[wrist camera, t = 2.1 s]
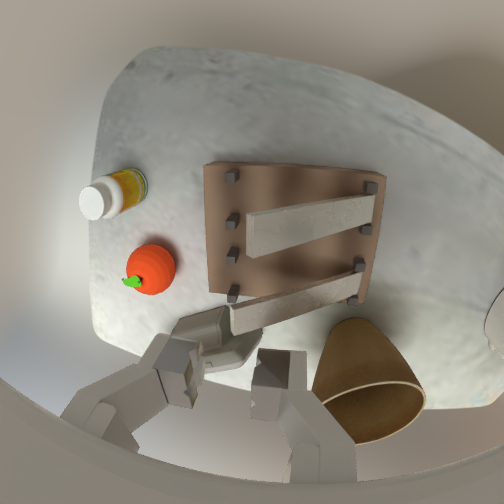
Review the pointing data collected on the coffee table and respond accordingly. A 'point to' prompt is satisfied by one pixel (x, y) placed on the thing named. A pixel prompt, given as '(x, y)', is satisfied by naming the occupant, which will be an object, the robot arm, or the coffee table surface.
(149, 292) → the clementine
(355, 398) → the plant pot
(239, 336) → the digital clock
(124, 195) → the supplement bottle
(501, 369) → the coffee table surface
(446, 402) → the coffee table surface
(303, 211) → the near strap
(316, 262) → the strap base
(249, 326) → the strap
